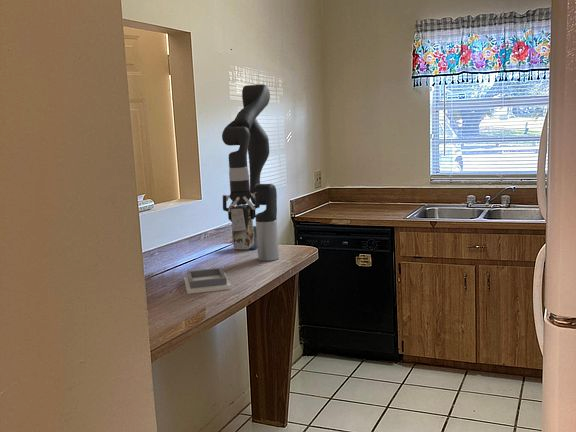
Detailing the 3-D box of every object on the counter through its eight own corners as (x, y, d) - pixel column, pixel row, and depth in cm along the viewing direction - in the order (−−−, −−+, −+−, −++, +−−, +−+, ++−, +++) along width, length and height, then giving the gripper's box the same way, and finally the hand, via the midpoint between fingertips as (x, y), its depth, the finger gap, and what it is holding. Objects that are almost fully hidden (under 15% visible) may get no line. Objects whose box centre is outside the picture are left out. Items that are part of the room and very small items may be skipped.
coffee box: (249, 249, 231) (246, 208, 229) (233, 249, 233) (230, 208, 230) (255, 244, 240) (252, 204, 237) (239, 244, 241) (236, 204, 239)
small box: (234, 250, 286) (232, 228, 285) (237, 247, 293) (236, 226, 291) (255, 250, 284) (254, 228, 283) (258, 247, 291) (257, 225, 289)
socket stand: (184, 280, 236) (183, 270, 235) (224, 276, 239) (224, 266, 239) (187, 293, 218) (186, 283, 217) (231, 288, 221) (230, 278, 220)
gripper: (255, 176, 237) (258, 216, 240) (219, 179, 234) (222, 220, 237) (259, 178, 230) (261, 220, 232) (222, 181, 227) (225, 223, 229)
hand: (242, 220), depth 235 cm, fingers closed on coffee box, 8 cm apart
